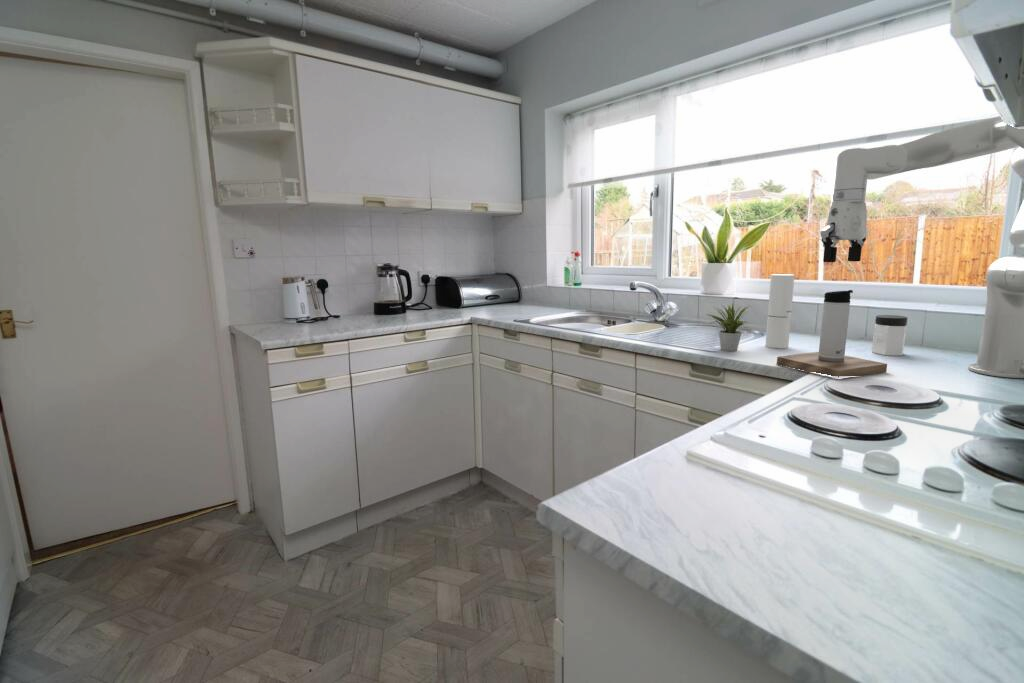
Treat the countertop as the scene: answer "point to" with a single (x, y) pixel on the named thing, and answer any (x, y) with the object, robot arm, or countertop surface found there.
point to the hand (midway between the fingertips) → (841, 261)
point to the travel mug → (834, 326)
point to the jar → (889, 335)
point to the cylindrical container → (779, 310)
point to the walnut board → (832, 365)
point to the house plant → (729, 328)
